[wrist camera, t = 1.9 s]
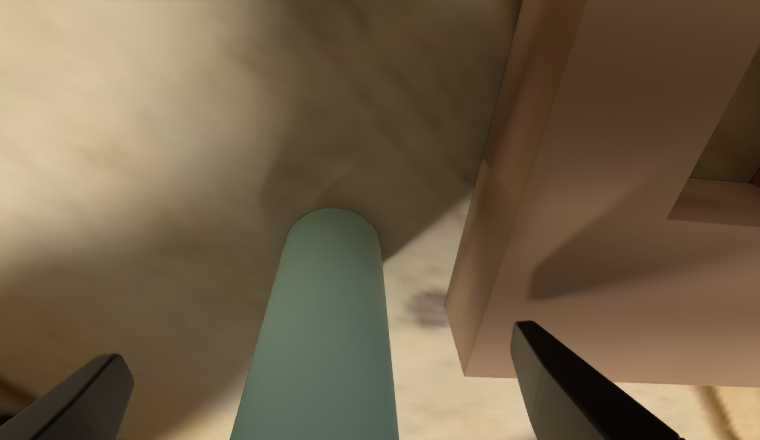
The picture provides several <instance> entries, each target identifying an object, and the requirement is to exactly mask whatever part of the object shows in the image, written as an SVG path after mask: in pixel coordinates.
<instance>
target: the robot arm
mask: <svg viewBox="0 0 760 440" xmlns="http://www.w3.org/2000/svg"><path fill="white" fill-rule="evenodd" d="M510 352H511V357H512V361H513V364H514V368H515V371H516V375H517V378H518V382H519V385H520V389H521V392H522V396H523V399H524V403H525V406H526V409H527V413H528V416H529V419H530V422H531V425H532V427H533V430H534V433H535V435H536V438H537V440H685V439H684V438H680V436H679V434H678V433H676V432H675V431H674V430H672V429H671V428H670V427H669V426H667V425H666V424H665V423H664V422H662V421H661V420H660V419H658V418H657V417H656V416H655V415H653V414H652V413H651V412H650V411H648V410H647V409H646V408H644V407H643V406H642V405H641V404H639V403H638V402H637V401H636V400H634V399H633V398H632V397H630V396H629V395H628V394H627V393H625V392H624V391H623V390H621V389H620V388H619V387H618V386H616V385H615V384H614V383H613V382H611V381H610V380H609V379H607V378H606V377H605V376H604V375H602V374H601V373H600V372H599V371H597V370H596V369H595V368H593V367H592V366H591V365H590V364H588V363H587V362H586V361H585V360H583V359H582V358H581V357H579V356H578V355H577V354H576V353H574V352H573V351H572V350H570V349H569V348H568V347H567V346H565V345H564V344H563V343H562V342H560V341H559V340H558V339H556V338H555V337H554V336H553V335H551V334H550V333H549V332H548V331H546V330H545V329H544V328H542V327H541V326H540V325H539V324H537V323H536V322H535V321H532V320H526V321H517V322H515V323H514V325H513V331H512V338H511V345H510ZM133 385H134V379H133V376H132V374H131V372H130V370H129V368H128V366H127V364H126V363H125V361H124V359H123V357H122V356H121V355H120V354H117V353H113V354H102V355H99V356H97V357H95V358H94V359H92V360H91V361H90V362H88V363H87V364H85V365H84V366H83V367H81V368H80V369H79V370H77V371H76V372H75V373H73V374H72V375H70V376H69V377H68V378H66V379H65V380H64V381H62V382H61V383H60V384H58V385H57V386H55V387H54V388H53V389H51V390H50V391H49V392H47V393H46V394H45V395H43V396H42V397H40V398H39V399H38V400H36V401H35V402H34V403H32V404H31V405H30V406H28V407H27V408H25V409H24V410H23V411H21V412H20V413H19V414H17V415H16V416H15V417H13V418H12V419H3V418H0V440H117V437H118V434H119V431H120V427H121V424H122V421H123V418H124V415H125V412H126V409H127V406H128V402H129V399H130V396H131V393H132V390H133Z"/></svg>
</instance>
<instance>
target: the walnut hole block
mask: <svg viewBox="0 0 760 440" xmlns="http://www.w3.org/2000/svg"><path fill="white" fill-rule="evenodd" d="M759 46H760V0H523V2H522V6H521V10H520V14H519V17H518V21H517V25H516V29H515V33H514V37H513V41H512V45H511V48H510V52H509V56H508V60H507V64H506V68H505V72H504V76H503V80H502V83H501V87H500V91H499V95H498V99H497V103H496V107H495V111H494V114H493V118H492V122H491V126H490V130H489V134H488V138H487V142H486V145H485V149H484V153H483V157H482V161H481V165H480V169H479V173H478V176H477V180H476V184H475V188H474V192H473V196H472V200H471V204H470V207H469V211H468V215H467V219H466V223H465V227H464V231H463V235H462V238H461V242H460V246H459V250H458V254H457V258H456V262H455V266H454V269H453V273H452V277H451V281H450V285H449V289H448V293H447V297H446V300H445V304H444V306H445V309H446V313H447V316H448V320H449V324H450V327H451V331H452V334H453V338H454V341H455V345H456V348H457V352H458V356H459V359H460V363H461V366H462V370H463V373H464V376H467V377H493V378H517V375H516V371H515V368H514V364H513V361H512V357H511V352H510V345H511V338H512V331H513V325H514V323H515V322H517V321H526V320H532V321H535V322H536V323H537V324H539V325H540V326H541V327H542V328H544V329H545V330H546V331H548V332H549V333H550V334H551V335H553V336H554V337H555V338H556V339H558V340H559V341H560V342H562V343H563V344H564V345H565V346H567V347H568V348H569V349H570V350H572V351H573V352H574V353H576V354H577V355H578V356H579V357H581V358H582V359H583V360H585V361H586V362H587V363H588V364H590V365H591V366H592V367H593V368H595V369H596V370H597V371H599V372H600V373H601V374H602V375H604V376H605V377H606V378H607V379H609V380H610V381H611V382H627V383H653V384H680V385H707V386H733V387H760V169H759V171H758V172H757V174H756V175H755V177H754V179H753V180H752V182H751V183H739V182H729V181H719V180H708V179H698V178H689V176H690V174H691V173H692V171H693V169H694V167H695V165H696V163H697V161H698V160H699V158H700V156H701V154H702V152H703V150H704V148H705V147H706V145H707V143H708V141H709V139H710V137H711V135H712V134H713V132H714V130H715V128H716V126H717V124H718V122H719V121H720V119H721V117H722V115H723V113H724V111H725V109H726V108H727V106H728V104H729V102H730V100H731V98H732V96H733V95H734V93H735V91H736V89H737V87H738V85H739V83H740V82H741V80H742V78H743V76H744V74H745V72H746V70H747V69H748V67H749V65H750V63H751V61H752V59H753V57H754V56H755V54H756V52H757V50H758V48H759Z"/></svg>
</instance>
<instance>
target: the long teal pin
mask: <svg viewBox="0 0 760 440" xmlns="http://www.w3.org/2000/svg"><path fill="white" fill-rule="evenodd" d="M230 440H399V434H398V424H397V413H396V403H395V392H394V382H393V371H392V361H391V350H390V340H389V329H388V319H387V308H386V298H385V287H384V277H383V266H382V256H381V245H380V240H379V236H378V234H377V232H376V230H375V229H374V227H373V226H372V225H371V224H370V223H369V222H368V221H367V220H366V219H365V218H363V217H362V216H360V215H358V214H356V213H354V212H352V211H349V210H345V209H340V208H324V209H319V210H315V211H312V212H310V213H308V214H306V215H304V216H303V217H301V218H300V219H299V220H297V221H296V222H295V224H294V225H293V226H292V227H291V229H290V231H289V233H288V235H287V238H286V242H285V245H284V249H283V252H282V256H281V259H280V263H279V266H278V270H277V273H276V277H275V281H274V284H273V288H272V291H271V295H270V298H269V302H268V305H267V309H266V313H265V316H264V320H263V323H262V327H261V330H260V334H259V337H258V341H257V345H256V348H255V352H254V355H253V359H252V362H251V366H250V369H249V373H248V376H247V380H246V384H245V387H244V391H243V394H242V398H241V401H240V405H239V408H238V412H237V416H236V419H235V423H234V426H233V430H232V433H231V437H230Z"/></svg>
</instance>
